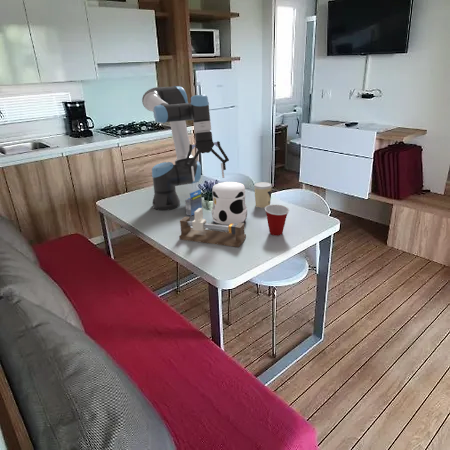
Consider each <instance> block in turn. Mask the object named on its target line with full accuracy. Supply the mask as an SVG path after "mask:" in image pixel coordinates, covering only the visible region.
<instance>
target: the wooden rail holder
mask: <svg viewBox="0 0 450 450" xmlns="http://www.w3.org/2000/svg"><path fill="white" fill-rule="evenodd" d="M190 218H191V216H184V217H182V218H181V219H180V220H179V226H180V233H181V234H180V235H179V236H178V237H179V240H182V241H188V242H196V243H203V244H204V243H205V244H211V245H218V246H227V247H231V248H232V247H233V248H240V246H241V245H242V244H243V243H244V242H245V239H246V238H247V234H245V223H244V222H243V223H238V224H237V226H236V227H235V234H232V233H229V231H224V230H215V229H207V228H206V229H205V230H204V231H198V230H193V227H192V226H187V222H188V221H191V219H190Z"/></svg>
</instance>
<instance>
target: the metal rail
mask: <svg viewBox="0 0 450 450" xmlns="http://www.w3.org/2000/svg"><path fill="white" fill-rule="evenodd" d="M192 221H193V220H190V221H188V222H187V226H191V227H192ZM203 226H204V228H206V229H210V230H219V231H227V232H229V233H232V234H235V227H236V226H237V223H234V224H232V223H231V224H230V225H229V226H228V225H220V224H217V223H210V222H209V223H208V222H206V223H204V224H203Z"/></svg>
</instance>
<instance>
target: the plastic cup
mask: <svg viewBox="0 0 450 450" xmlns="http://www.w3.org/2000/svg"><path fill="white" fill-rule="evenodd" d="M264 210H265V214H266V219H267V226H268V232H269V234H270V235H272V236H276V237H279V236H281V235H282V234H283V233H284V230H285V229H284V228H285V225H286V220H287V216H288V214H289V212H290V209H289V207H287V206H284V205H282V204H270V205H268V206H266V207H265V208H264Z"/></svg>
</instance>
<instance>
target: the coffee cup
mask: <svg viewBox="0 0 450 450" xmlns="http://www.w3.org/2000/svg"><path fill="white" fill-rule="evenodd" d="M253 187H254V188H253V190H254V200H255V201H254V202H255V207H256V208H258V209H265V207H266V206H268V205H271V199H272V198H271V197H272V188H273V186H272V183H271V182H267V181H260V182H256V183H254V186H253Z"/></svg>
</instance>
